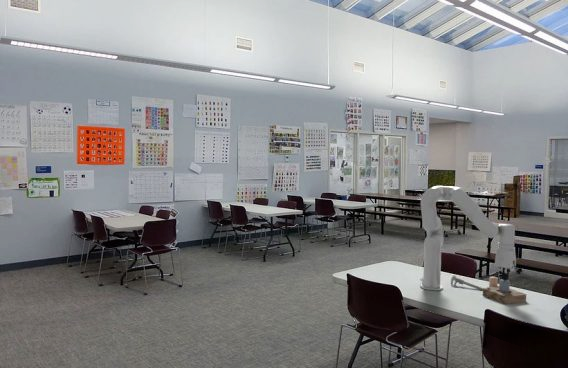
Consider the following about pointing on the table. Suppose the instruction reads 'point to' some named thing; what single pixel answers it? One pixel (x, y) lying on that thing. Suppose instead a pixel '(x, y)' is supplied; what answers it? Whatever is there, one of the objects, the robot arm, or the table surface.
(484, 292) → the jig
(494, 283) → the terracotta sleeve
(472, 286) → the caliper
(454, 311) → the table surface
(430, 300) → the table surface
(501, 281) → the sleeve
